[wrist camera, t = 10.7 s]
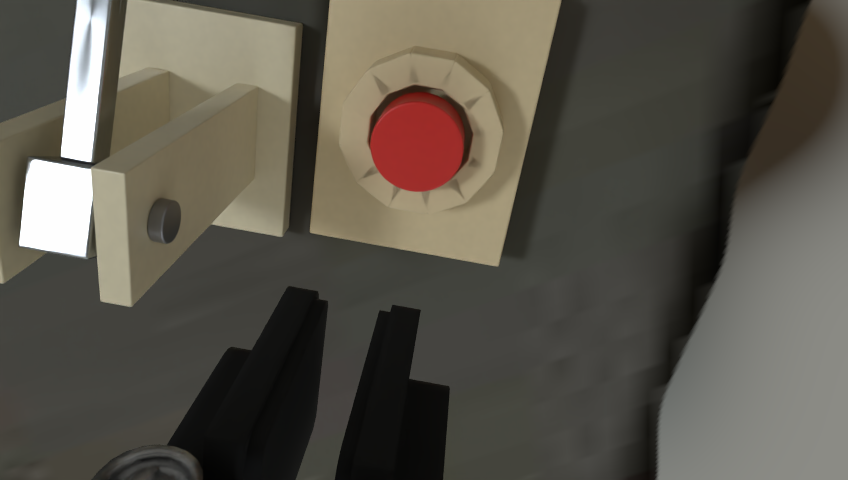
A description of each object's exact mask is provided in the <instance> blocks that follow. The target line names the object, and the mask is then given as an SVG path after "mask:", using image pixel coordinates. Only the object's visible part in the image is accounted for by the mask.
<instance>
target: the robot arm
mask: <svg viewBox="0 0 848 480" xmlns="http://www.w3.org/2000/svg"><path fill="white" fill-rule="evenodd" d="M327 309H328V301H325V300H320V299H319V294H318V291H313V290H308V289H302V288H297V287H291V286H289V287H288V288H287V289H286V291H285V292H284V294H283V296H282V298H281V299H280V301H279V303H278V305H277V307H276V308H275V310H274V312H273V314H272V315H271V317H270V319H269V321H268V322H267V324H266V326H265V328H264V330H263V331H262V333H261V335H260V337H259V338H258V340H257V342H256V344H255V346H254V347H253V349H252V350H246V349H241V348H235V347H230V348H228V349H227V351H226V352H225V353H224V355H223V356H222V358H221V359H220V361H219V363H218V364H217V366H216V367H215V369H214V371H213V372H212V374H211V375H210V377H209V379H208V380H207V382H206V383H205V385H204V387H203V388H202V390H201V391H200V393H199V395H198V396H197V398H196V399H195V401H194V403H193V404H192V406H191V407H190V409H189V411H188V412H187V414H186V415H185V417H184V419H183V420H182V422H181V423H180V425H179V427H178V428H177V430H176V431H175V433H174V435H173V436H172V438H171V439H170V441H169V443H168V444H167V445H160V444H159V445H149V446H142V447H138V448H135V449H132V450H129V451H126V452H124V453H122V454H121V455H119V456H117V457H115V458H113V459H112V460H110V461H109V462H108V463H107V464H106V465H105V466H104V467H103V468H102V469H100V470H99V471H98V473H97V474H96V475H95V476H94V477H93V479H92V480H295V479H296V477H297V474H298V471H299V468H300V465H301V462H302V459H303V456H304V454H305V451H306V448H307V445H308V442H309V439H310V436H311V433H312V430H313V427H314V423H315V418H316V412H317V403H318V394H319V385H320V375H321V366H322V356H323V347H324V338H325V328H326V319H327ZM420 311H421V310H419V309H413V308H408V307H402V306H397V305H392V308H391V312H386V311H381V310H380V311H379V314H378V318H377V321H376V325H375V329H374V332H373V336H372V339H371V343H370V346H369V350H368V354H367V357H366V361H365V364H364V368H363V371H362V375H361V379H360V382H359V386H358V389H357V393H356V396H355V400H354V403H353V407H352V411H351V414H350V418H349V421H348V425H347V428H346V432H345V436H344V439H343V443H342V447H341V451H340V455H339V460H338V465H337V470H336V476H335V480H443V472H444V459H445V445H446V432H447V419H448V406H449V390H450V388H449V386H445V385H439V384H434V383H428V382H423V381H417V380H412V379H409V376H410V370H411V364H412V358H413V352H414V346H415V340H416V334H417V328H418V322H419V317H420Z"/></svg>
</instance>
